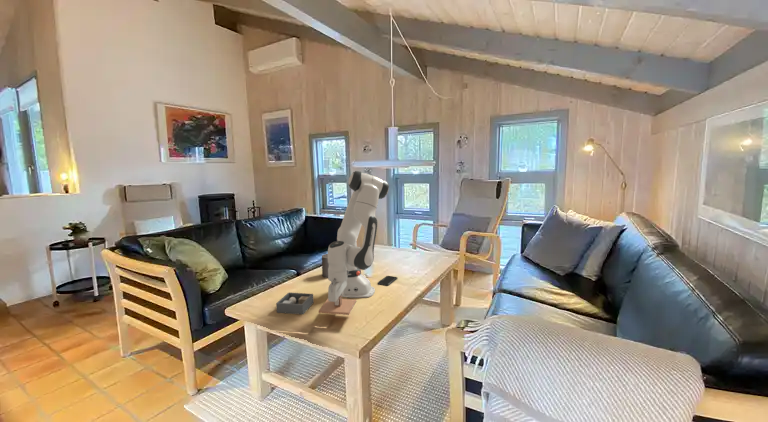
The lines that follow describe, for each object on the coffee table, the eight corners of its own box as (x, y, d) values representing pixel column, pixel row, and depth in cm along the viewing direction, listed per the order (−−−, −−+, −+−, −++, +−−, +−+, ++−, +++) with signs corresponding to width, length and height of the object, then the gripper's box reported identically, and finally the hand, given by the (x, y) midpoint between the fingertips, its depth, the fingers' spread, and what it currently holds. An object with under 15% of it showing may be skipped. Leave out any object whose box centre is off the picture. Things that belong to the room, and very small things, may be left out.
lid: (356, 301, 168) (356, 292, 167) (348, 314, 154) (348, 304, 153) (328, 299, 170) (328, 290, 169) (318, 312, 156) (318, 302, 155)
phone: (398, 277, 216) (388, 284, 203) (398, 278, 217) (388, 286, 203) (387, 275, 220) (376, 282, 207) (387, 277, 220) (376, 284, 207)
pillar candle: (319, 274, 225) (319, 253, 222) (333, 271, 230) (332, 250, 228) (326, 279, 217) (325, 256, 214) (339, 275, 222) (339, 254, 220)
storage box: (313, 303, 179) (313, 293, 179) (303, 315, 166) (302, 305, 165) (289, 302, 182) (288, 292, 181) (276, 313, 168) (276, 303, 167)
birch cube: (309, 303, 178) (308, 296, 177) (306, 307, 174) (305, 299, 173) (302, 303, 179) (301, 296, 178) (298, 306, 175) (298, 299, 174)
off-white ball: (297, 303, 179) (297, 295, 178) (294, 306, 175) (294, 299, 174) (290, 302, 180) (290, 295, 179) (287, 305, 176) (287, 298, 175)
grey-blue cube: (292, 308, 173) (292, 300, 172) (289, 311, 169) (288, 304, 168) (285, 307, 173) (284, 300, 173) (281, 311, 169) (281, 303, 169)
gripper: (337, 283, 149) (338, 312, 151) (349, 268, 169) (349, 294, 171) (324, 282, 150) (325, 311, 152) (337, 268, 170) (337, 294, 172)
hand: (338, 302), depth 161 cm, fingers closed on lid, 3 cm apart
